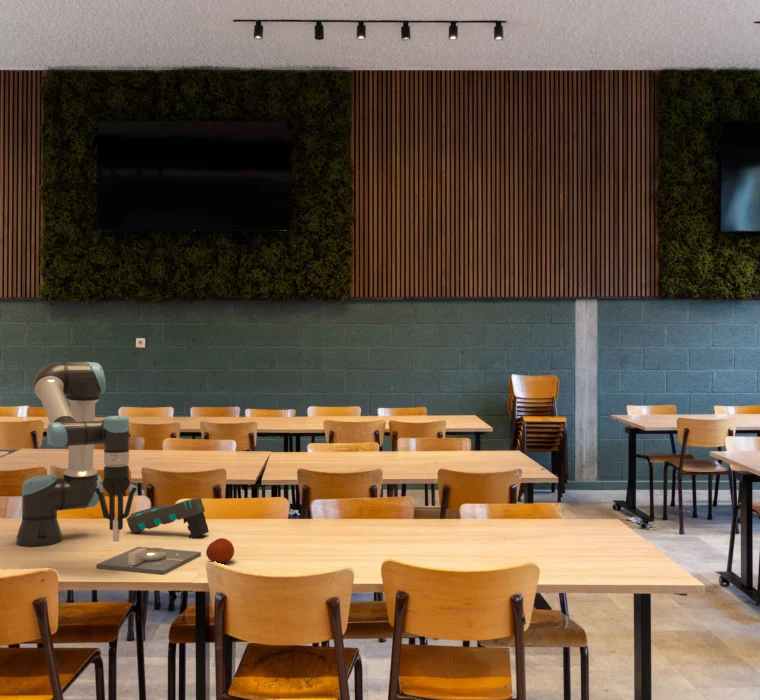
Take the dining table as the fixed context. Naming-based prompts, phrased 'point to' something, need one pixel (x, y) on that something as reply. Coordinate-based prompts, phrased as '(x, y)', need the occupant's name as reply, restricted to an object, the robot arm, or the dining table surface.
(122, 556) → the panel
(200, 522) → the gun
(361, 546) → the dining table surface
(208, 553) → the fruit
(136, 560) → the dial
